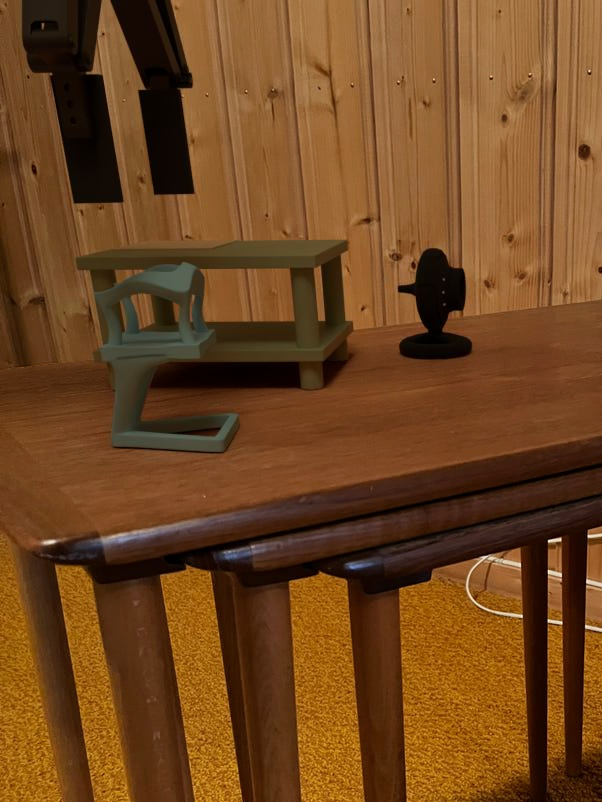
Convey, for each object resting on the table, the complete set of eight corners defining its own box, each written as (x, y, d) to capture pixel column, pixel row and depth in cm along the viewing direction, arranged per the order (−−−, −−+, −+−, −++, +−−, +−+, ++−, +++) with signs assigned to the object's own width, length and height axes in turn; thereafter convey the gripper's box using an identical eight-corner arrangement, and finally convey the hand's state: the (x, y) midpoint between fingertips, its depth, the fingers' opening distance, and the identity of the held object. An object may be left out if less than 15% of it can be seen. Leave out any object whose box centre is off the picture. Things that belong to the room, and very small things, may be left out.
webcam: (464, 360, 96) (462, 251, 91) (391, 358, 97) (385, 251, 93) (478, 346, 103) (477, 244, 98) (409, 345, 104) (405, 244, 100)
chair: (129, 428, 74) (100, 258, 68) (241, 424, 74) (220, 255, 69) (102, 456, 67) (66, 270, 61) (224, 452, 67) (200, 267, 62)
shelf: (99, 391, 85) (74, 256, 80) (161, 357, 99) (143, 240, 95) (326, 391, 84) (314, 253, 79) (355, 356, 99) (347, 238, 94)
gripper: (37, -327, 42) (126, 206, 52) (206, -161, 65) (247, 190, 74) (-130, -319, 43) (-12, 209, 52) (96, -157, 65) (150, 192, 75)
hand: (140, 199), depth 63 cm, fingers open, 13 cm apart
